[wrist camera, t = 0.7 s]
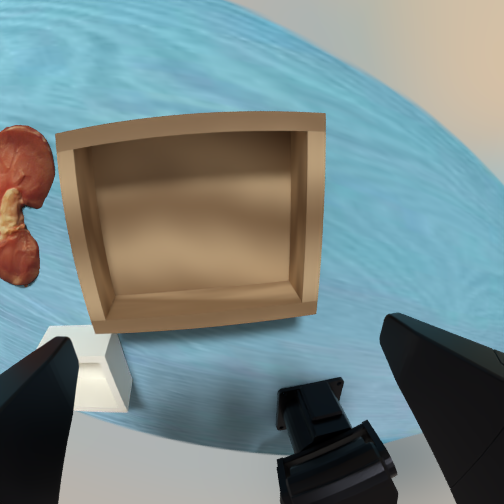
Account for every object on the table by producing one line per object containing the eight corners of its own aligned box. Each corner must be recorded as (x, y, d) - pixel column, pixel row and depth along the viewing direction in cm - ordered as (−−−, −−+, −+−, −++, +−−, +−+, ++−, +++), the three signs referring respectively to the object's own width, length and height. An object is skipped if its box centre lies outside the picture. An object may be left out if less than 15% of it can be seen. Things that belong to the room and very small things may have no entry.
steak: (60, 137, 15) (34, 302, 19) (71, 135, 17) (43, 290, 20) (-25, 115, 13) (-40, 269, 16) (-12, 114, 14) (-29, 260, 18)
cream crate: (132, 378, 24) (127, 412, 21) (73, 378, 23) (62, 409, 20) (115, 322, 22) (104, 355, 18) (50, 324, 21) (33, 355, 17)
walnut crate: (297, 284, 23) (316, 314, 19) (108, 301, 21) (95, 334, 17) (301, 115, 18) (325, 113, 15) (81, 132, 16) (55, 133, 13)
